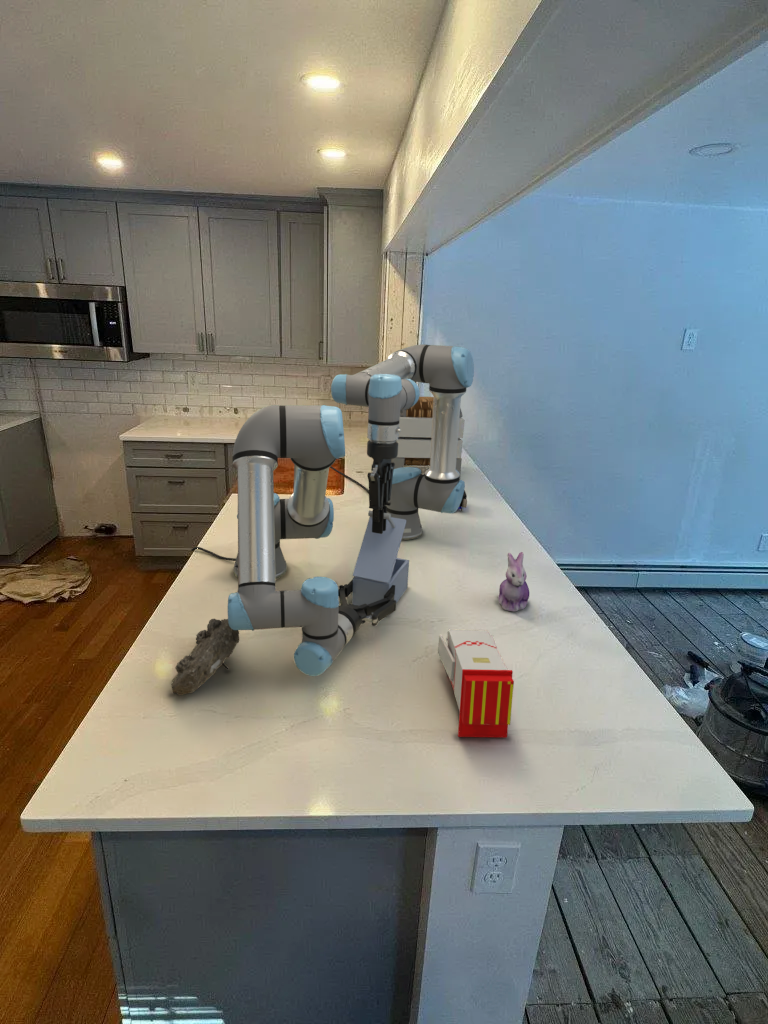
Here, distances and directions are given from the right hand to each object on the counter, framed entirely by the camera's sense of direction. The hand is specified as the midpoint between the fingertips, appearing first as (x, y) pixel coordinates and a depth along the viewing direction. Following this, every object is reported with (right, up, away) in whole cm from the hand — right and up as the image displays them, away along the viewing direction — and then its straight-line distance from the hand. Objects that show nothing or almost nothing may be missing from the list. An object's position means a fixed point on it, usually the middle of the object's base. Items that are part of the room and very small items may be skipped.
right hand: (378, 531), depth 145 cm
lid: (0, -5, +3) cm, 6 cm away
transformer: (+19, +24, +130) cm, 134 cm away
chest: (0, -19, +11) cm, 22 cm away
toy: (+19, -33, -26) cm, 46 cm away
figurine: (+37, -20, +10) cm, 43 cm away
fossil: (-36, -29, -22) cm, 51 cm away
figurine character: (+31, +7, +85) cm, 90 cm away
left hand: (-1, -14, +4) cm, 15 cm away
